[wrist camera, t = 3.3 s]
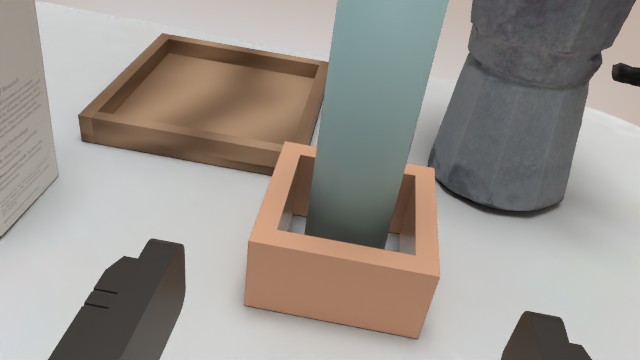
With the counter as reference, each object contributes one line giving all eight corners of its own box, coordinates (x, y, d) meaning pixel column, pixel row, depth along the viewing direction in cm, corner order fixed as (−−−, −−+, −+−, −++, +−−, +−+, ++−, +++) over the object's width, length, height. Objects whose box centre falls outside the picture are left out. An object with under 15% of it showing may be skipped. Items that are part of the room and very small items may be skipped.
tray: (82, 140, 34) (78, 115, 33) (163, 54, 45) (162, 33, 44) (299, 180, 34) (302, 155, 33) (327, 83, 45) (330, 62, 44)
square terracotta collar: (244, 305, 25) (248, 240, 23) (279, 199, 32) (284, 141, 29) (418, 338, 25) (439, 276, 23) (417, 225, 32) (434, 168, 29)
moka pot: (431, 108, 43) (515, -200, 32) (635, 197, 37) (838, -152, 25) (363, 154, 37) (438, -213, 25) (596, 273, 30) (847, -152, 18)
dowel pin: (295, 282, 27) (338, -37, 18) (307, 229, 30) (349, -64, 21) (376, 297, 27) (460, -17, 18) (380, 242, 30) (453, -47, 21)
